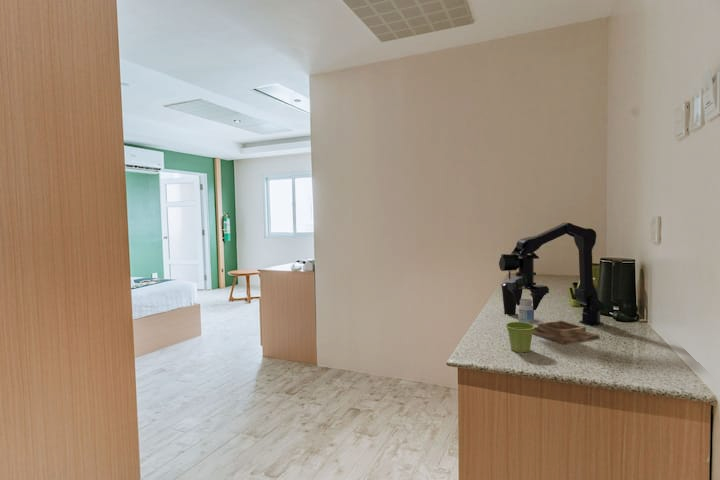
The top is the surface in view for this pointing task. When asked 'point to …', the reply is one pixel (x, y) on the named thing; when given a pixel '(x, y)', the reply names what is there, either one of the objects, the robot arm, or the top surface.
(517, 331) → the plant pot
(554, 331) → the holder
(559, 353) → the top surface
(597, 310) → the robot arm
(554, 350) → the top surface
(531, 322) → the pill bottle
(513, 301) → the drinking cup
